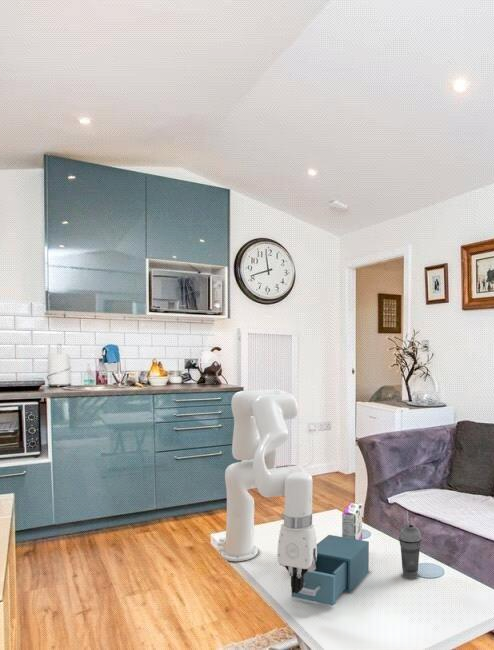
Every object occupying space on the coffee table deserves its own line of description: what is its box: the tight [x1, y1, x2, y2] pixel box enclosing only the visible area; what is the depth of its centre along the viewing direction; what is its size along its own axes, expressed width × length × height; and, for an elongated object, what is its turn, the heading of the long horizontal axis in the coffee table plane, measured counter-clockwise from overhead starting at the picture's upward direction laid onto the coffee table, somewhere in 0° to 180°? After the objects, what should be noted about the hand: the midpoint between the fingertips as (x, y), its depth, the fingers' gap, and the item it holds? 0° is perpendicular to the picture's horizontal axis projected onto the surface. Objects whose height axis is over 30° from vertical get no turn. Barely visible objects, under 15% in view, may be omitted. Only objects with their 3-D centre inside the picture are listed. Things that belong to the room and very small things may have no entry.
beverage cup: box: [398, 510, 422, 580], centre depth 157 cm, size 7×7×20 cm
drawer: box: [291, 556, 348, 607], centre depth 143 cm, size 18×13×8 cm
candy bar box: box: [341, 502, 363, 540], centre depth 171 cm, size 11×5×16 cm, turn 169°
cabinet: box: [317, 534, 370, 594], centre depth 155 cm, size 15×15×10 cm
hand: (297, 590), depth 131 cm, fingers closed
